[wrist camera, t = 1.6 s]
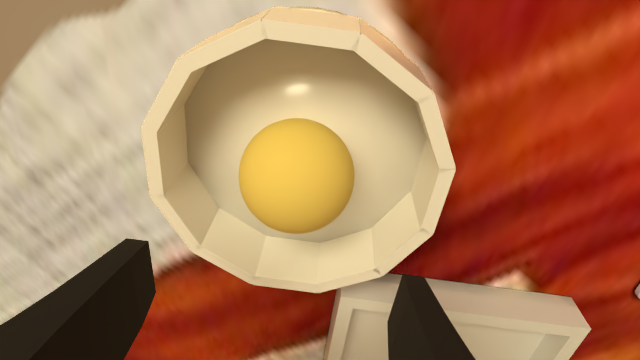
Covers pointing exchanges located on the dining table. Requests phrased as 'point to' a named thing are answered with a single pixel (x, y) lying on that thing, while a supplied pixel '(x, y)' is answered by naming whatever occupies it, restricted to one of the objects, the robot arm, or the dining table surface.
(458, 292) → the tray
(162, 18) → the dining table surface
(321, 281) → the bowl
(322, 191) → the ball
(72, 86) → the dining table surface
